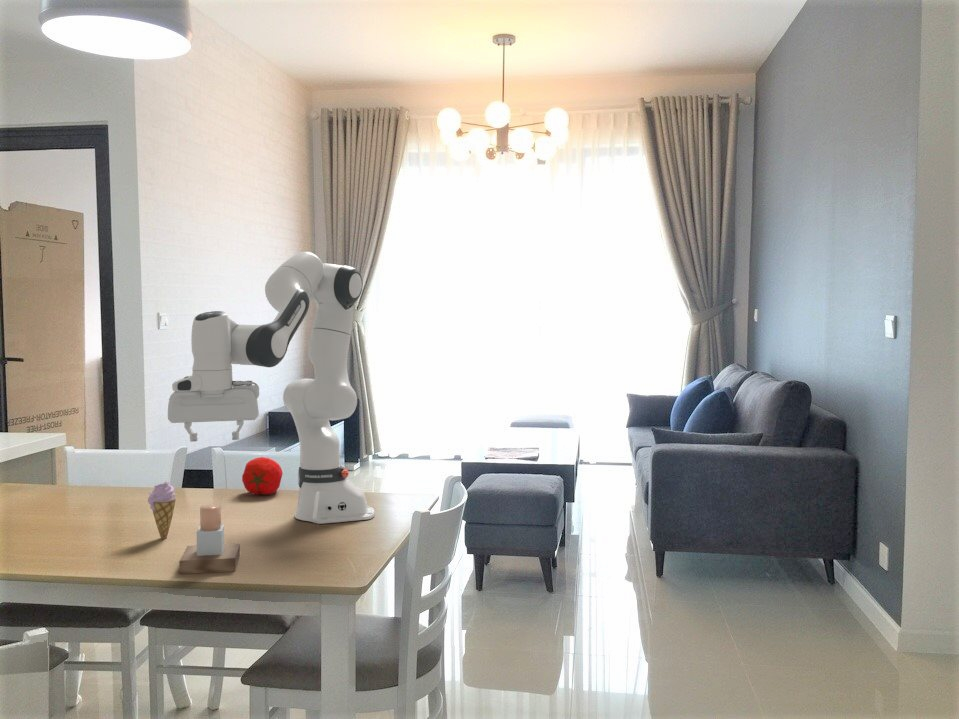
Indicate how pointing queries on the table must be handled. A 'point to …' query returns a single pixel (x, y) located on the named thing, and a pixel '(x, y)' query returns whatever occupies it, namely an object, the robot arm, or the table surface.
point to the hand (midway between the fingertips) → (214, 440)
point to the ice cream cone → (162, 506)
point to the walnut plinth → (210, 560)
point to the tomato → (262, 476)
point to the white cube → (210, 542)
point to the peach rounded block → (210, 517)
